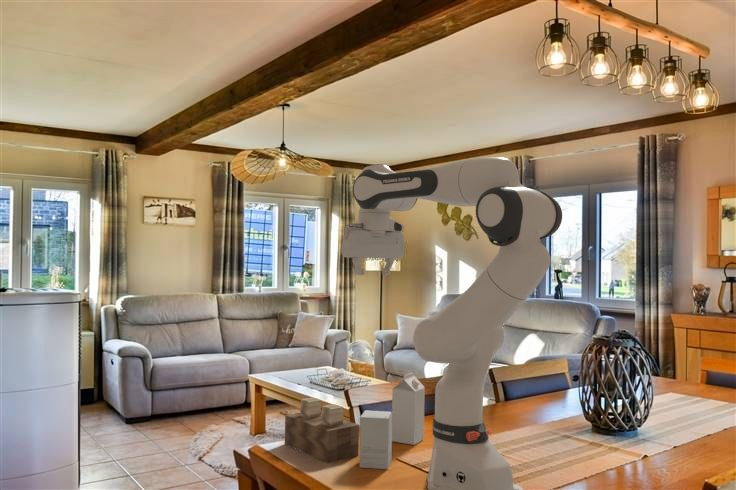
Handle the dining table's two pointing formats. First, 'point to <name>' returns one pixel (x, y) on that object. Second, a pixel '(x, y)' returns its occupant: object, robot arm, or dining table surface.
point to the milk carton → (408, 411)
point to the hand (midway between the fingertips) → (373, 275)
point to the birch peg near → (332, 415)
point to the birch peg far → (310, 408)
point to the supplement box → (375, 439)
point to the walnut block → (322, 437)
